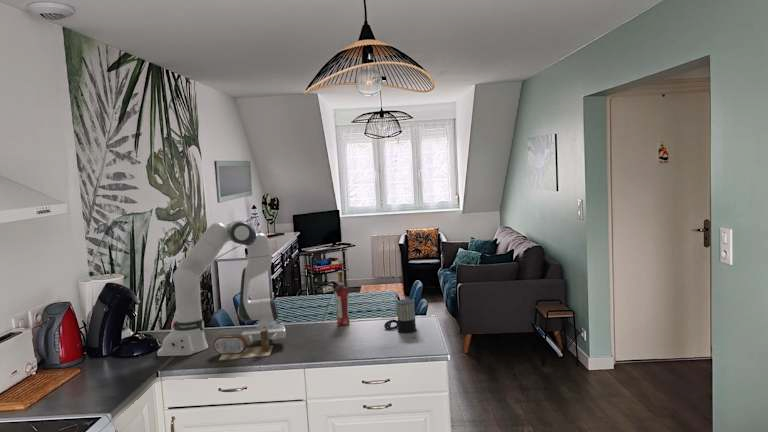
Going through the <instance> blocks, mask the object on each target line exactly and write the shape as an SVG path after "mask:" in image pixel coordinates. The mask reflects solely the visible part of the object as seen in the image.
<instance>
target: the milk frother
mask: <svg viewBox="0 0 768 432" xmlns="http://www.w3.org/2000/svg"><path fill="white" fill-rule="evenodd" d="M415 302H416V301H415V300H414V299H411V298H405V299H399V300H398V299H397V300H396V301H395V303H396V311H397V313H396V314H397V316H396V317H397V319H390V320H387V321H386V322H385V323H384V325H383V327H384V329H386V330H391V331H392V330H397V332H398V333H400V334H412V333H415V332H417V325H416V313H415V312H416V311H415ZM392 323H395V324H396V325H394V326H391V325H392Z"/></svg>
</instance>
